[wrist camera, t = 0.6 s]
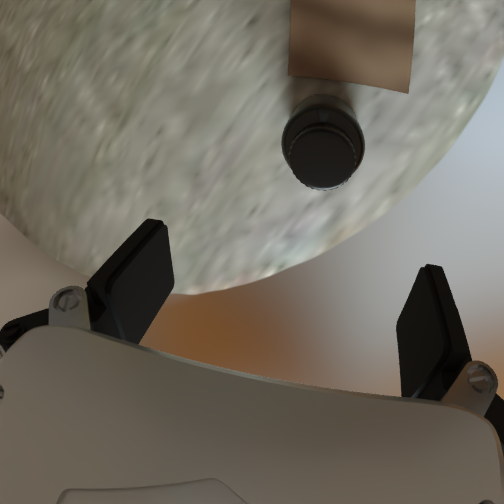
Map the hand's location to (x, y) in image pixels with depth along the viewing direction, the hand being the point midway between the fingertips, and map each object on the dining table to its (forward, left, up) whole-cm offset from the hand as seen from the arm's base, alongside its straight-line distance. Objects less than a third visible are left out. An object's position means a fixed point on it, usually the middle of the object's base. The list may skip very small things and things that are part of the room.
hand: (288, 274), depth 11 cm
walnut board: (-12, +2, -25) cm, 28 cm away
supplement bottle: (0, 0, -25) cm, 25 cm away
